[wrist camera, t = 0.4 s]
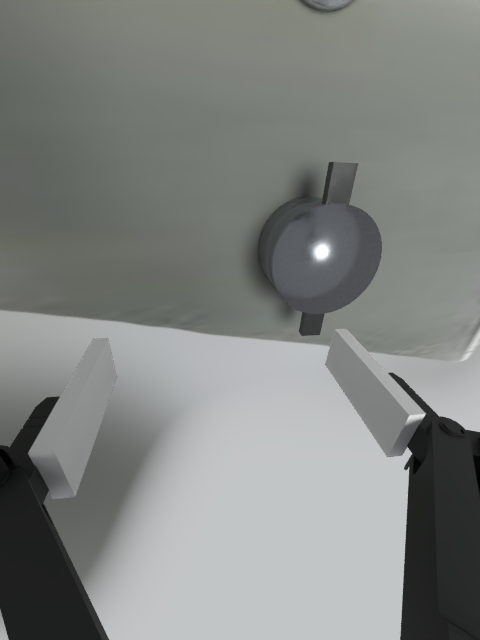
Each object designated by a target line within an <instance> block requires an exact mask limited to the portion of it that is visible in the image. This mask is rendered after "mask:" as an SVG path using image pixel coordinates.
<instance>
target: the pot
mask: <svg viewBox="0 0 480 640" xmlns="http://www.w3.org/2000/svg"><path fill="white" fill-rule="evenodd" d="M357 166H358V163H341V162H329V165H328V171H327V176H326V182H325V188H324V193H323V199H322V198H318V197H311V196H309V197H300V198H296V199H293V200H291V201H289V202H287V203H285V204H284V205H282V206H281V207H279V208H278V209H277V210H276V211H275V212H274V213H273V214H272V215H271V216H270V218H269V219H268V221H267V222H266V224H265V226H264V227H263V230H262V232H261V235H260V239H259V246H258V253H259V260H260V264H261V266H262V268H263V270H264V272H265V274H266V275H267V276H268V278H269V279H270V281H271V282H272V284H273V285H274V287H275V288H276V290H277V291H278V292H279V294H280V295H281V297H282V298H283V299H284V300H285V302H286V303H288V304H289V305H290V306H291V307H293V308H294V309H296V310H299V311H301V312H302V317H301V323H300V328H299V332H300V334H301V335H302V336H307V335H320V331H321V327H322V322H323V318H324V313H328V312H332V311H335V310H338V309H340V308H342V307H344V306H346V305H348V304H349V303H351V302H352V301H353V300H355V299H356V298H357V297H358V296H359V295H360V294H361V293H362V292H363V291H364V290H365V289H366V288H367V286H368V285H369V284H370V282H371V281H372V279H373V278H374V275H375V273H376V271H377V269H378V266H379V263H380V259H381V252H382V242H381V236H380V232H379V229H378V227H377V225H376V223H375V222H374V220H373V219H372V218H371V217H370V216H369V215H368V214H367V213H366V212H364V211H363V210H361V209H359V208H357V207H355V206H351V205H349V202H350V197H351V193H352V188H353V184H354V180H355V175H356V171H357Z"/></svg>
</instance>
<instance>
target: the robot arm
mask: <svg viewBox="0 0 480 640" xmlns="http://www.w3.org/2000/svg"><path fill="white" fill-rule="evenodd" d="M325 365H326V366H327V368H328V369H329V371H330V372H331V374H332V375H333V376H334V378H335V380H336V381H337V383H338V384H339V386H340V387H341V389H342V390H343V392H344V393H345V395H346V396H347V397H348V399H349V400H350V402H351V403H352V405H353V406H354V408H355V409H356V411H357V412H358V414H359V415H360V417H361V418H362V420H363V421H364V423H365V424H366V426H367V427H368V429H369V430H370V432H371V433H372V435H373V436H374V438H375V439H376V441H377V442H378V444H379V445H380V447H381V448H382V450H383V451H384V453H385V454H386V456H387V457H393V456H401V455H403V453H404V451H405V450H406V448H407V447H408V448H409V449H410V451H411V452H412V455H411V457H410V458H409V460H408V462H407V463H406V465H405V467H404V469H405V470H407V469H408V467H409V466H410V467H409V468H410V469H409V487H408V507H407V508H408V509H407V525H406V544H405V564H404V583H403V602H402V621H401V622H402V623H401V637H400V640H480V432H475V431H470V430H465V429H464V428H463V427H462V426H461V425H460V424H458V423H457V422H455V421H453V420H451V419H449V418H446V417H439V416H438V415H437V414H436V413H435V412H434V411H433V410H432V409H431V408H430V407H429V406H428V405H427V404H426V403H425V402H424V401H423V400H422V399H421V398H420V397H419V396H418V395H417V394H416V393H415V391H414V390H413V389H412V388H410V386H409V385H408V384H407V383H406V382H405V381H404V380H403V379H402V378H400V377H398V376H397V375H395V374H394V373H387V372H386V371H385V370H384V369H383V367H382V366H381V365H380V364H379V363H378V362H377V361H376V360H375V359H374V358H373V357H372V356H371V355H370V354H369V353H368V351H367V350H366V349H365V348H364V347H363V346H362V345H361V344H360V343H359V342H358V341H357V340H356V339H355V338H354V337H353V336H352V334H351V333H350V332H349V331H348V330H347V329H335V330H334V334H333V337H332V341H331V345H330V349H329V352H328V356H327V360H326V364H325ZM116 379H117V375H116V370H115V366H114V361H113V357H112V353H111V349H110V344H109V340H108V338H105V339H93V340H92V341H91V343H90V345H89V347H88V349H87V350H86V352H85V354H84V356H83V357H82V359H81V361H80V363H79V364H78V366H77V368H76V370H75V371H74V373H73V375H72V377H71V378H70V380H69V382H68V384H67V385H66V387H65V389H64V391H63V392H62V394H61V396H60V397H48V398H46V399H45V400H44V401H42V402H41V403H40V404H39V405H38V406H36V407H35V409H34V410H33V412H32V414H31V415H30V417H29V420H27V421H26V423H25V424H24V426H23V429H21V431H20V432H19V434H18V435H17V437H16V439H15V440H14V442H13V443H12V445H11V446H10V448H9V447H8V446H2V445H0V609H1V613H2V617H3V620H4V624H5V627H6V631H7V635H8V638H9V640H109V639H108V637H107V635H106V632H105V630H104V628H103V626H102V624H101V622H100V620H99V618H98V616H97V613H96V611H95V609H94V607H93V605H92V603H91V601H90V599H89V597H88V595H87V593H86V591H85V589H84V586H83V584H82V582H81V580H80V578H79V576H78V574H77V572H76V570H75V568H74V566H73V563H72V561H71V559H70V557H69V555H68V553H67V551H66V549H65V547H64V545H63V542H62V540H61V538H60V536H59V535H58V532H57V530H56V528H55V526H54V524H53V522H52V520H51V517H50V516H49V513H48V511H47V509H46V507H45V505H44V504H43V502H44V500H45V497H46V495H47V493H48V491H49V493H50V495H51V497H52V498H53V499H59V498H67V497H75V496H76V493H77V490H78V487H79V484H80V481H81V479H82V475H83V473H84V470H85V467H86V464H87V462H88V459H89V456H90V453H91V450H92V447H93V444H94V442H95V439H96V436H97V433H98V430H99V427H100V425H101V421H102V419H103V416H104V413H105V410H106V408H107V405H108V402H109V399H110V396H111V393H112V391H113V388H114V385H115V382H116Z"/></svg>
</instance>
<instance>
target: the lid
mask: <svg viewBox="0 0 480 640" xmlns="http://www.w3.org/2000/svg"><path fill="white" fill-rule="evenodd" d="M301 1H302V2H303V3H305V4H306V5H307V6H309V7H311V8H313V9H315V10H318V11H325V12H329V11H335V10H338V9H341V8H343V7H345V6H346V5H348V4H349V3H351V2H352V1H353V0H301Z"/></svg>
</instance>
